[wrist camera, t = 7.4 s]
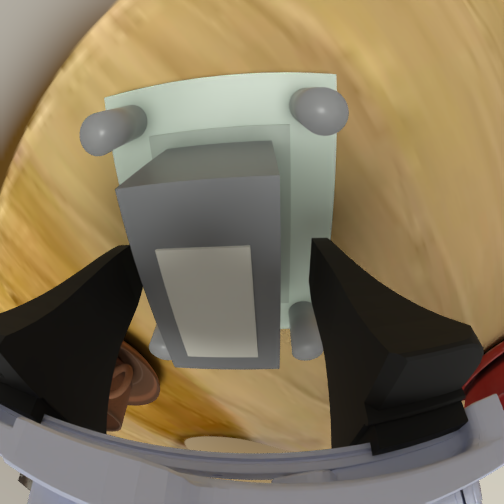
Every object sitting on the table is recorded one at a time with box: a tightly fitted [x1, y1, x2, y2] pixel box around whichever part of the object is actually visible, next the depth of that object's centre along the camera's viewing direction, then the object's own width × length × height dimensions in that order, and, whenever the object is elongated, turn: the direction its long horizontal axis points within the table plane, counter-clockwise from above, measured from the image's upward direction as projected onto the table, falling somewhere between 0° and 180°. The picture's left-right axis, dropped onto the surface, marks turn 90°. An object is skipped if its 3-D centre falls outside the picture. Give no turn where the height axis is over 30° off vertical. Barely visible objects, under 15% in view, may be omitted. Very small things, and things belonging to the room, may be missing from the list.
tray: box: [80, 72, 349, 360], centre depth 13 cm, size 14×10×4 cm
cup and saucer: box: [107, 341, 160, 431], centre depth 19 cm, size 12×12×6 cm
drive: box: [115, 141, 281, 369], centre depth 11 cm, size 8×4×5 cm, turn 3°
